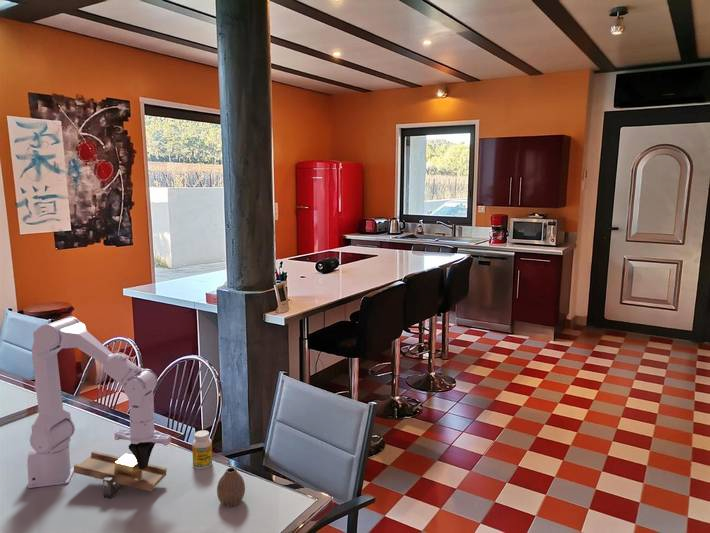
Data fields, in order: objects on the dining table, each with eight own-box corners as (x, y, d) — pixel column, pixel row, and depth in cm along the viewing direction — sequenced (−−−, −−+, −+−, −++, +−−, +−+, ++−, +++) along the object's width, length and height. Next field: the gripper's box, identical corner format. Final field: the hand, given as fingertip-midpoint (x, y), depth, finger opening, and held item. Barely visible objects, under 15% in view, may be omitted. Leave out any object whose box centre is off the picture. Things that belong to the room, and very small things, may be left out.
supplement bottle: (208, 458, 151) (208, 427, 149) (214, 466, 146) (214, 434, 145) (190, 463, 148) (189, 431, 146) (195, 471, 143) (195, 439, 142)
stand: (102, 499, 129) (101, 480, 129) (130, 473, 142) (129, 456, 141) (109, 500, 129) (108, 481, 128) (137, 473, 141) (136, 456, 141)
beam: (73, 472, 132) (74, 465, 132) (92, 457, 140) (93, 450, 140) (150, 491, 130) (151, 484, 129) (166, 475, 137) (166, 468, 137)
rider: (114, 474, 132) (115, 462, 132) (124, 465, 137) (125, 453, 136) (131, 479, 132) (133, 466, 131) (141, 469, 136) (143, 457, 136)
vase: (250, 497, 132) (250, 465, 131) (235, 513, 126) (235, 479, 124) (227, 491, 134) (226, 460, 133) (211, 506, 128) (211, 474, 127)
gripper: (106, 422, 129) (108, 472, 131) (160, 427, 127) (161, 478, 128) (123, 410, 136) (124, 458, 137) (174, 415, 133) (175, 464, 135)
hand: (143, 467), depth 133 cm, fingers closed
